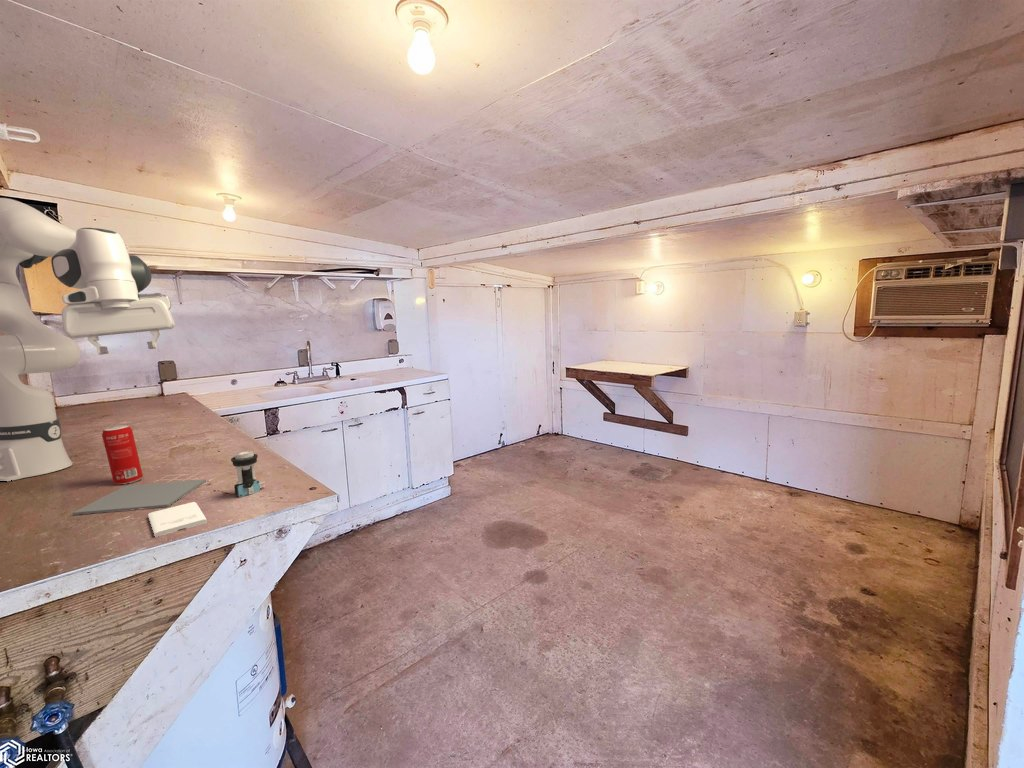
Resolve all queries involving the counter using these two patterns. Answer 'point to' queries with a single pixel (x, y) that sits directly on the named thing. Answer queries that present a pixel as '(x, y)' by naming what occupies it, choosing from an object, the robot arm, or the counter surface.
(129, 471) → the beverage can
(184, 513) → the external hard drive
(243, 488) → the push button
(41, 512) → the counter surface
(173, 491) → the mat
